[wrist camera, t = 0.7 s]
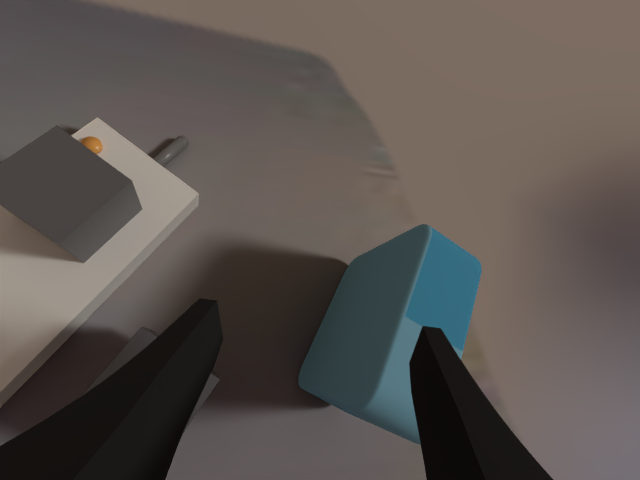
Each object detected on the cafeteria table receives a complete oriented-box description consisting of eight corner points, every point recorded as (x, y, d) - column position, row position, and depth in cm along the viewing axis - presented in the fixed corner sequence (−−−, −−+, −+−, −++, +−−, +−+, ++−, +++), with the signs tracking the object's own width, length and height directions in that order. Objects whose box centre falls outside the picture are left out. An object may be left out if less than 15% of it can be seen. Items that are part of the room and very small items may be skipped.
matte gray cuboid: (163, 438, 21) (152, 477, 15) (98, 397, 21) (59, 421, 14) (212, 369, 24) (219, 379, 17) (155, 331, 23) (141, 326, 17)
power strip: (-125, 535, 16) (-322, 655, 10) (-308, 440, 15) (-658, 508, 9) (228, 174, 28) (238, 128, 22) (142, 108, 27) (128, 40, 21)
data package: (338, 409, 26) (441, 455, 15) (292, 384, 25) (365, 414, 15) (386, 283, 31) (488, 252, 21) (349, 259, 30) (434, 215, 20)
